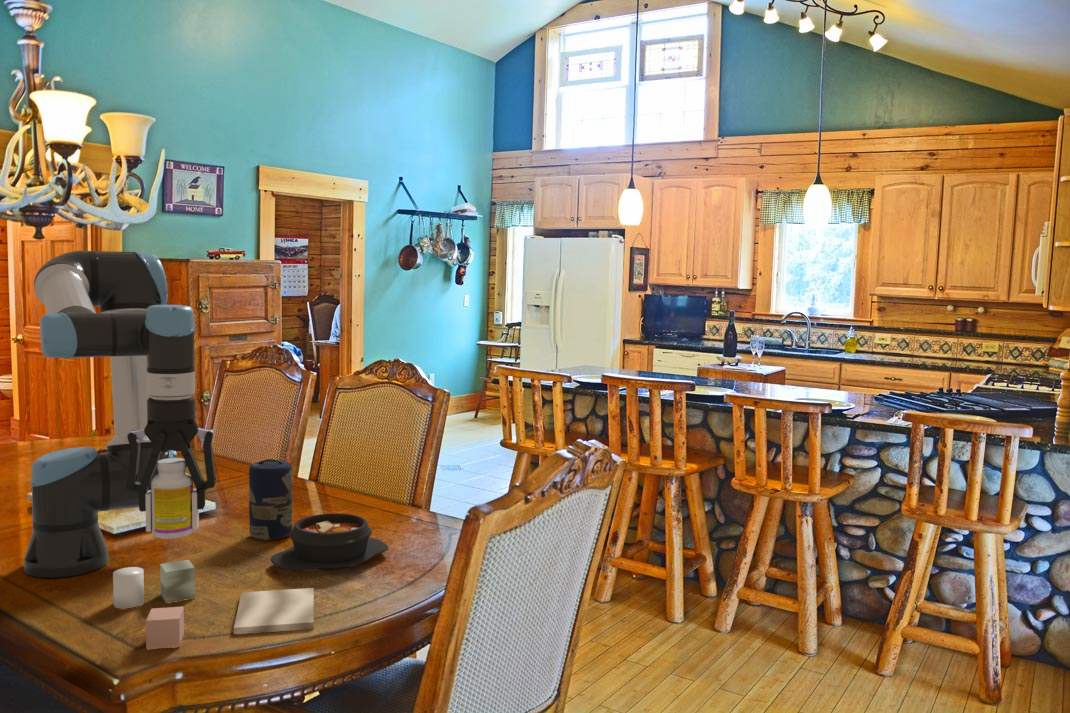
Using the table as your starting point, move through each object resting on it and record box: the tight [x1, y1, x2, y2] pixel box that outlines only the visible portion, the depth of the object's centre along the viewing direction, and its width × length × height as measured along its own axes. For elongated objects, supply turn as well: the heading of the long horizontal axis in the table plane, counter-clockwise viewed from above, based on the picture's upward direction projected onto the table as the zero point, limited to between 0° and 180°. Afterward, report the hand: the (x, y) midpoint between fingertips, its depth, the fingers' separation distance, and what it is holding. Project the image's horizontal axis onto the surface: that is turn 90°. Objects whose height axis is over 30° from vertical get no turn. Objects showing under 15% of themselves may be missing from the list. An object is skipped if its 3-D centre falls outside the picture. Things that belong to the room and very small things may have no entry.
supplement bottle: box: [151, 457, 194, 540], centre depth 147 cm, size 7×7×13 cm
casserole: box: [270, 512, 389, 572], centre depth 181 cm, size 25×19×8 cm
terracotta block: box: [145, 606, 185, 648], centre depth 141 cm, size 5×5×5 cm
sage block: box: [159, 559, 196, 604], centre depth 160 cm, size 5×5×6 cm
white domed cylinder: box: [112, 566, 145, 610], centre depth 156 cm, size 5×5×6 cm
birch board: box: [233, 587, 315, 635], centre depth 154 cm, size 13×16×1 cm
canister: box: [248, 458, 294, 541], centre depth 195 cm, size 10×10×18 cm
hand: (172, 528), depth 148 cm, fingers closed on supplement bottle, 7 cm apart
